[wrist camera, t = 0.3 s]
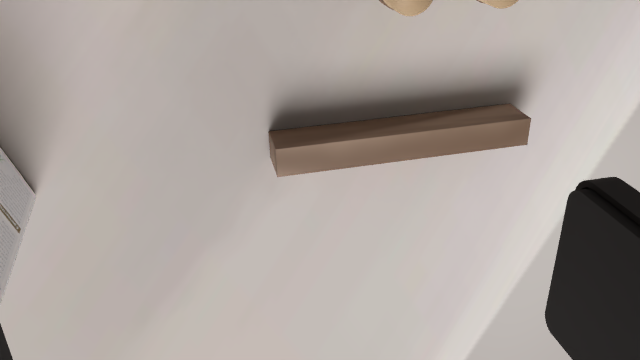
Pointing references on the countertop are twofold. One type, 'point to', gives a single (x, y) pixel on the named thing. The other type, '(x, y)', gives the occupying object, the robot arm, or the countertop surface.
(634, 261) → the robot arm
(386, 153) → the back wall
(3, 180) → the syrup box
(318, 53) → the countertop surface
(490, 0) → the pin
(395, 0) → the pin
